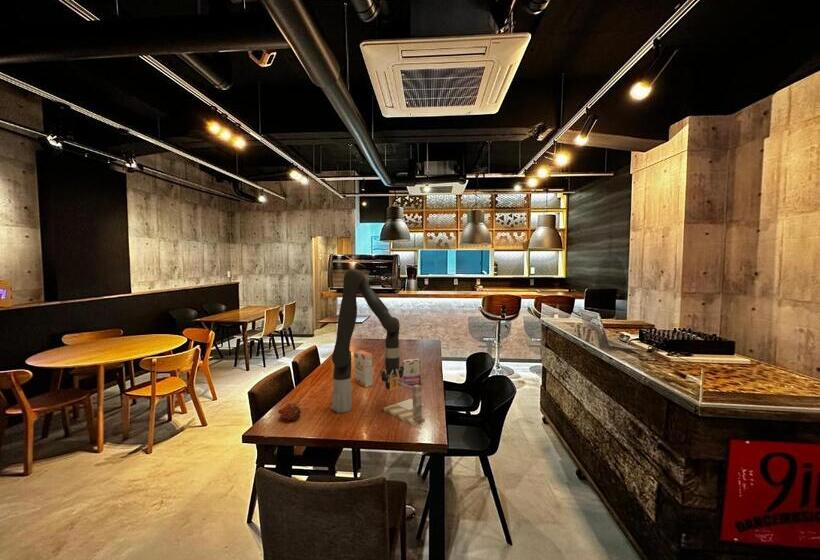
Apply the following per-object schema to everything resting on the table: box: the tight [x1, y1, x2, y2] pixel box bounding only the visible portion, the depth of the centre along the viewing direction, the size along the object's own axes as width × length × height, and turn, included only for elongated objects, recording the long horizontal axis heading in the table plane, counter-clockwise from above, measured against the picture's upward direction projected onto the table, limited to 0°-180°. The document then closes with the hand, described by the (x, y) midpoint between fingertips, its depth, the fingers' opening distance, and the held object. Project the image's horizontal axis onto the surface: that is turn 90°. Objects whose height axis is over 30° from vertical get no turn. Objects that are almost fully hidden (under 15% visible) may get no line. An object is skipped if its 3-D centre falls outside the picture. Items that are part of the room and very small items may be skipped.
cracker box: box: [353, 349, 374, 388], centre depth 222 cm, size 14×6×21 cm, turn 37°
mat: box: [395, 398, 425, 412], centre depth 188 cm, size 11×11×1 cm
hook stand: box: [383, 380, 426, 427], centre depth 174 cm, size 24×7×18 cm, turn 41°
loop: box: [386, 375, 399, 392], centre depth 180 cm, size 6×2×6 cm, turn 130°
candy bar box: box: [401, 358, 422, 387], centre depth 220 cm, size 11×5×16 cm, turn 101°
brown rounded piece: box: [277, 403, 302, 422], centre depth 172 cm, size 8×8×12 cm
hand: (392, 387), depth 180 cm, fingers closed on loop, 5 cm apart
